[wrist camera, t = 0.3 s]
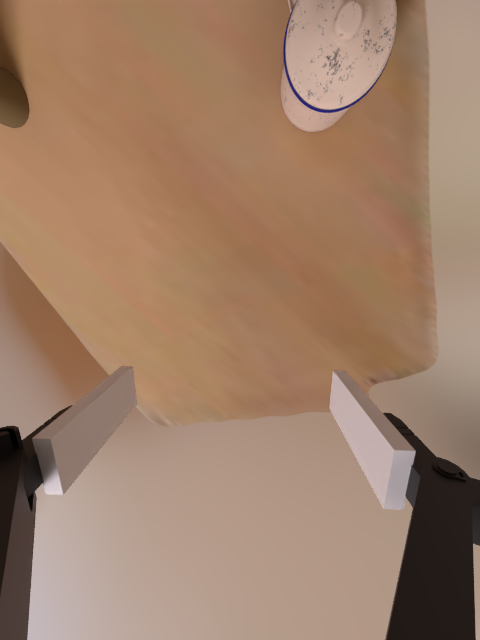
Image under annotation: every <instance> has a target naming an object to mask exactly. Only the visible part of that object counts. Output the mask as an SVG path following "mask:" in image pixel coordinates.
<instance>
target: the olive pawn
mask: <svg viewBox="0 0 480 640" xmlns="http://www.w3.org/2000/svg"><path fill="white" fill-rule="evenodd" d="M28 115H29V104H28V99H27V97H26V94H25V91H24V89H23V88H22V86H21V84H20V83H19V81H18V80H17V79H16V78H15V77H14V76H13V75H12V74H11V73H9V72H8V71H7V70H5V69H3V68H0V123H1V124H3V125H6V126H9V127H12V128H18V127H21V126H23V125H24V124H25V123H26V121H27V119H28Z"/></svg>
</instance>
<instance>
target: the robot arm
mask: <svg viewBox="0 0 480 640" xmlns="http://www.w3.org/2000/svg"><path fill="white" fill-rule="evenodd" d="M136 404H137V398H136V389H135V381H134V372H133V367H128V366H121V367H120V368H119V369H118V370H116V371H115V372H114V373H113V374H111V375H110V376H109V377H108V378H107V379H105V380H104V381H103V382H102V383H100V384H99V385H98V386H97V387H95V388H94V389H93V390H92V391H90V392H89V393H88V394H87V395H85V396H84V397H83V398H82V399H80V400H79V401H78V402H77V403H75V404H74V405H71V406H69V407H67V408H65V409H63V410H61V411H59V412H58V413H57V414H56V415H54V416H53V417H52V418H51V419H49V420H48V421H46V422H45V423H44V425H41V426H40V427H39V428H37V429H36V430H35V431H34V432H32V433H31V434H30V435H28V436H27V437H26V438H25V439H23V440H21V436H20V432H19V429H18V427H16V426H7V427H2V428H0V640H27V634H28V633H27V632H28V618H29V604H30V588H31V574H32V573H31V572H32V558H33V543H34V528H35V513H36V494H35V490H36V489H37V488H38V487H39V486H40V485H41V484H42V483H43V485H44V489H45V493H46V494H54V495H64V493H65V492H66V491H67V490H68V488H69V487H70V486H71V485H72V483H73V482H74V481H75V480H76V478H77V477H78V476H79V475H80V474H81V472H82V471H83V470H84V469H85V467H86V466H87V465H88V464H89V462H90V461H91V460H92V459H93V457H94V456H95V455H96V454H97V452H98V451H99V450H100V449H101V448H102V446H103V445H104V444H105V443H106V441H107V440H108V439H109V438H110V436H111V435H112V434H113V433H114V431H115V430H116V429H117V428H118V426H119V425H120V424H121V422H122V421H123V420H124V419H125V418H126V417H127V415H128V414H129V413H130V411H131V410H132V409H133V408H134V407H135V405H136ZM329 409H330V410H331V412H332V414H333V416H334V418H335V420H336V422H337V423H338V425H339V427H340V429H341V431H342V433H343V435H344V436H345V438H346V440H347V442H348V444H349V446H350V447H351V449H352V451H353V453H354V455H355V457H356V459H357V460H358V462H359V464H360V466H361V468H362V470H363V472H364V473H365V475H366V477H367V479H368V481H369V483H370V485H371V486H372V488H373V490H374V492H375V494H376V496H377V497H378V499H379V501H380V503H381V505H382V507H383V509H400V510H403V509H404V505H405V500H406V498H407V499H408V501H409V502H410V504H411V505H412V507H413V511H412V516H411V520H410V524H409V529H408V535H407V539H406V544H405V549H404V554H403V558H402V564H401V568H400V573H399V577H398V582H397V587H396V592H395V596H394V601H393V606H392V611H391V616H390V620H389V625H388V630H387V634H386V639H385V640H476V638H475V604H474V573H473V572H474V570H473V569H474V568H473V543H474V544H476V545H479V546H480V480H477V479H474V478H470V477H469V476H468V475H467V474H466V473H465V471H463V470H462V469H461V468H460V467H458V466H457V465H455V464H453V463H452V462H450V461H448V460H445V459H442V458H439V457H436V456H435V455H434V454H433V453H432V452H431V451H430V450H429V449H428V448H427V447H426V446H425V445H424V444H423V442H422V441H421V440H420V439H419V438H418V437H417V436H415V435H414V433H413V432H412V431H411V430H410V429H408V427H407V426H406V425H405V424H404V423H403V422H402V421H401V420H400V419H399V418H397V417H395V416H394V415H392V414H391V413H382V412H381V411H380V410H379V409H378V407H377V406H376V405H375V404H374V403H373V402H372V400H371V399H370V398H369V397H368V396H367V395H366V394H365V392H364V391H363V390H362V389H361V388H360V387H359V386H358V384H357V383H356V382H355V381H354V380H353V379H352V378H351V376H350V375H349V374H348V373H347V372H346V371H339V370H333V377H332V387H331V397H330V407H329Z"/></svg>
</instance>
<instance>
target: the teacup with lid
mask: <svg viewBox="0 0 480 640" xmlns="http://www.w3.org/2000/svg"><path fill="white" fill-rule="evenodd" d="M288 3H289V8H290V12H291V15H290V17H289V21H288V24H287V28H286V32H285V39H284V65H283V72H282V78H281V101H282V105H283V109H284V111H285V113H286V115H287V117H288V119H289V120H290V121H291V122H292V123H293V124H294V125H295V126H296V127H298V128H299V129H301V130H304V131H309V132H316V131H321V130H324V129H326V128H328V127H330V126H332V125H333V124H335V123H336V122H337V121H338V120H339V119H340V118H341V117H342V116H343V115H344V114H345V113H346V112H347V111H348V109H349V108H350V107H351V106H352V105H354V104H355V103H357V102H358V101H359V100H361V99H362V98H363V97H364V96H365V95H366V94H367V93H368V92H369V91H370V90H371V88H372V87H373V86H374V85H375V83H376V82H377V80H378V79H379V77H380V76H381V74H382V72H383V70H384V68H385V66H386V64H387V62H388V59H389V57H390V54H391V51H392V47H393V43H394V39H395V33H396V26H397V6H396V0H288Z"/></svg>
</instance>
